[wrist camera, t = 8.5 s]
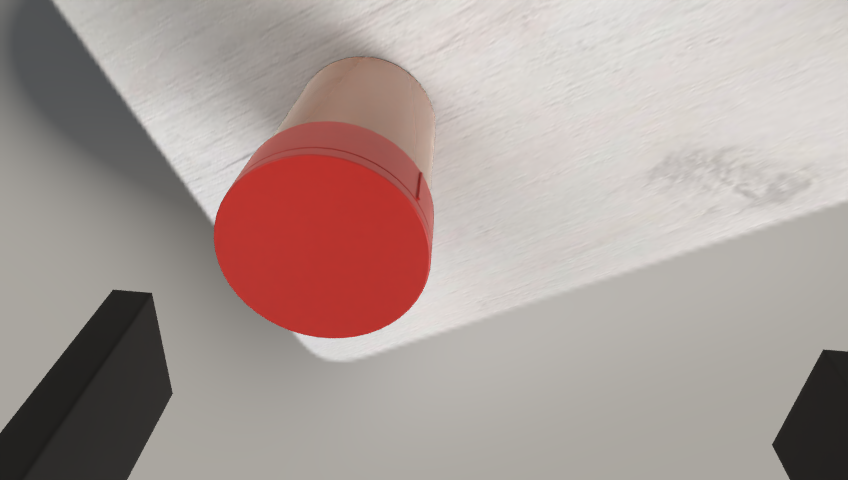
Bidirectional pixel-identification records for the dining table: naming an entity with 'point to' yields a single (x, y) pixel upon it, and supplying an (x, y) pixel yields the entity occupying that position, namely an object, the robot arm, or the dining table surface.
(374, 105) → the jar
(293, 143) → the lid
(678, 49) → the dining table surface
